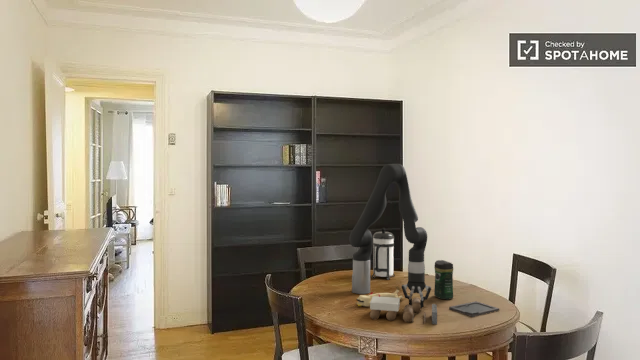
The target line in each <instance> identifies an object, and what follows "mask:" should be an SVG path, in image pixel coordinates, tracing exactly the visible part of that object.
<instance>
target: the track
mask: <svg viewBox="0 0 640 360" xmlns="http://www.w3.org/2000/svg"><path fill="white" fill-rule="evenodd" d="M381 312H382V310H372V309H370V313H369V316H370V319H372V320H374V321H375V320H378V319H379V318H380V316H381ZM397 312H398V311H386V315H385V316H386V319H387V320H388V321H389V322H391V321H395V319H397V318H396V317H397ZM402 313H403V314H402V320H403V321H404V323H405V322H406V323H410V322H411V323H412V324H414V317H415V313H414V312H413V307H412V306H411V305H409V304H406V305H405V306H404V309H403V312H402ZM426 315H427V313H426V312H424V313H423V325H424V324H425V325H426V319H427V318H426Z"/></svg>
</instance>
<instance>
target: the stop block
mask: <svg viewBox="0 0 640 360" xmlns="http://www.w3.org/2000/svg"><path fill="white" fill-rule="evenodd" d="M431 325H438V306H437V303H436V304H435V303H432V304H431Z"/></svg>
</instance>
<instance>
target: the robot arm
mask: <svg viewBox="0 0 640 360" xmlns="http://www.w3.org/2000/svg"><path fill="white" fill-rule="evenodd" d="M391 184H396V186H397V189H398V192H399V196H398V197H399V198H398V210H399V213H400V216H401V219H402V221H403V231H404V237H405V239H406V240H407V242H408V243H410V244H412V245H413V246H412V247H410V248H409V249H408V265H407V283H406V284H402V285H401V290H402V293H403V297H404V299H407V300H408V305H411V306H412V300H413V294H419V299H420V305H421V308H420V310H422V309H423V308H424V306H425V305H424V301H427V300H428V299H429V297H430V293H431V290H432V287H431V286H429V285H427V284H426V283H425V282H426V281H425V279H426V277H425V274H426V273H425V271H426V269H425V268H426V267H425V251H426V247H427V246H426V245H427V241H428V232H427V230H426V229H425V228H424V227H419V226H418V227H416V222H418V220H419V217H418V214H417V211H416V208H415V206H414V203H413V199H412V196H411V191H410V190H411V189H410V185H409V180H408V175H407V172H406V168H405V167H404V165H402V164H401V163H388V164H385V165H383V167H382V168H381V170H380V172H379V175H378V177H377V180H376V183H375V186H374V187H373V190H372V192H371V194H370V197H369V199H368V200H367V202H366V205H365V206H364V209H363V211H362V213H361V215H360V217H359V219H358V220H357V222H356V223H355V225H354V227H353V228H352V230H351V231H350V234H349V237H348V238H349V240H348V241H349V243H350V246H351V247H353V248H358V250H357V251H356V252H354V253H353V254H352V274H351V293H352V294H353V293H354V294H357V295H358V294H359V295H366V294H370V293H371V256H372V255H373V253H372V252H373V234H372V231H370V229H369V228H370V227H371V226H372V225H374V224H375V223H376V222H377V221H378V220H379V219H380V218H381V217H382V215H383V213H384V211H385V209H386V207H387V197H386V196H387V195H386V194H387V191H388V190H389V188H390V186H391ZM407 289H409V290H410V291H409V295H408V292H407ZM424 290H425V291H426V293H425V296H424V293H423V291H424Z"/></svg>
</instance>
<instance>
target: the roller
mask: <svg viewBox="0 0 640 360" xmlns="http://www.w3.org/2000/svg"><path fill="white" fill-rule="evenodd" d="M420 300H421V298H420V297H418V296H417V297H416V296H415V297H412V307H413V312H414V314H419V313H420V311H421V309H420V308H421V305H420Z"/></svg>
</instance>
